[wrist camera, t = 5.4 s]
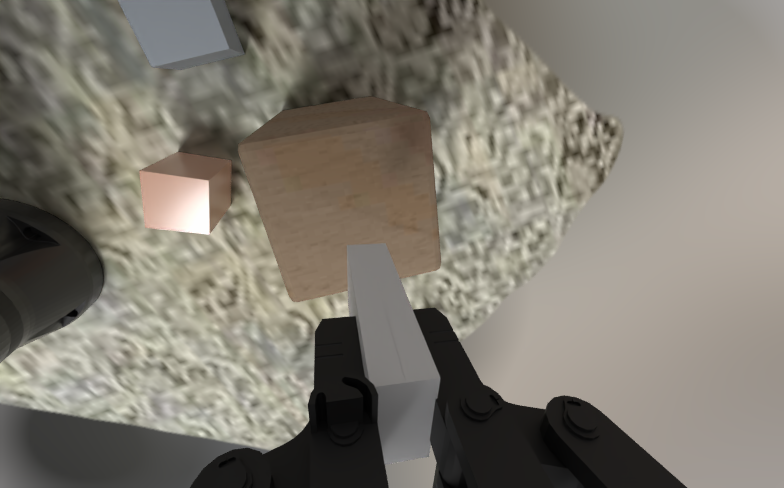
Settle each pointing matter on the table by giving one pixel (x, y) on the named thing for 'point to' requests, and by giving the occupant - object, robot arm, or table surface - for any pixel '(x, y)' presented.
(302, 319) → the table surface
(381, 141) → the wooden block
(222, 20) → the slate cube
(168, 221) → the terracotta block
